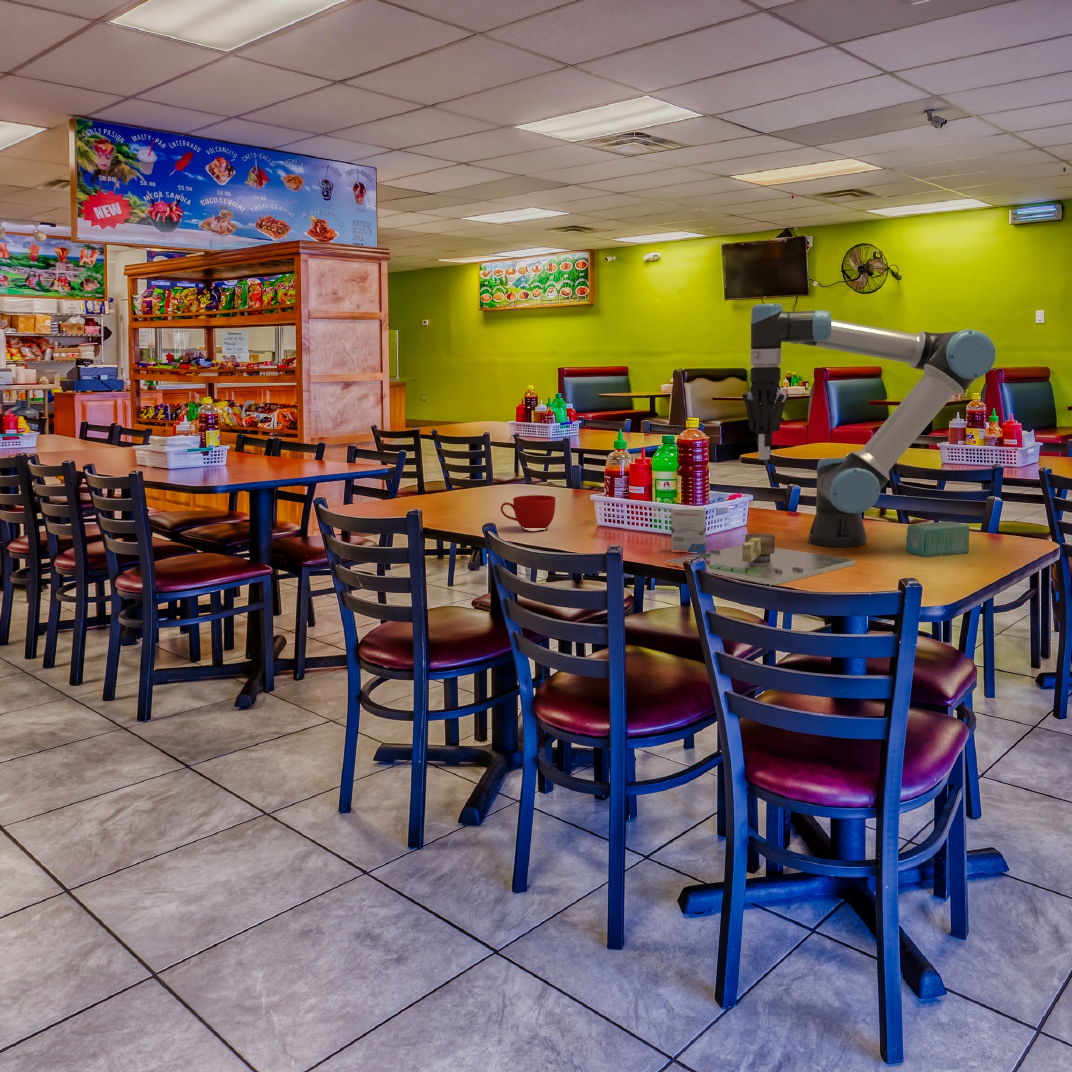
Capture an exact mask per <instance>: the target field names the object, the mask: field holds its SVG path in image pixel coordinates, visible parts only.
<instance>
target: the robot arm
mask: <svg viewBox="0 0 1072 1072" xmlns="http://www.w3.org/2000/svg"><path fill="white" fill-rule="evenodd" d="M750 320H751V321H750V322H751V323H750V365H751V366H752V367H751V368H750V371H749V373H750V375H749V376H750V379H749V380H750V383H751V386H750V387H749V388H750V389H749V391H748V392H747V393H743V394H742V400H743V401H744V403H745V408H746V413H747V419H748V426H749V430H750V431H751V432H754V433H755V434H756V446H757V447H758V451H757V452H758V457H757V459H758V460H760V461H761V460H762V461H763V460H764V461H765V460H771V459H770V457H771V456H770V452H771V447H772V445H773V434H774V433H776V432H779V430H780V427H781V423H782V419H783V413H784V409H785V404H786V402H787V401H788V398H790V397H789V394H788V393H784V392H783V391H782V390H781V387H780V381H781V380H782V379H781V374H782V373H781V371H782V369H781V367H780V365H781V364H782V343H790V344H793V345H797V344H800V345H805V346H810V347H817V348H824V349H829V350H835V351H840V352H845V353H851V354H854V355H855V354H857V355H860V356H861V355H862V356H868V357H873V358H877V359H878V358H879V359H885V360H890V361H895V362H899V363H900V362H901V363H904V364H905V363H906V364H909V367H910V368H912V369H917V370H921V371H924V374H923V375H922V377H921V378H920V380H919V381H918V382H917V383H916V384H915V385H914V387H913V388H911V390H910V392H908V393H907V394H906V396H905V397H904V399H902V401H901V402H900V403H899V405H897V407H896V408H895V409H894V410H893V412H892V413H891V414H890V415H889V416H888V418H887V419H886V420H885V421H884V422H883V424H882V425H881V426H880V427H879V428H878V430H877V431H876V432H875V433H874V434H873V435H872V436H871V438H870V439H869V440H868V441H867V443H865V445H864V446H863V447H862V449H860V450H854V451H851V453H850V454H849V455H848V456H847V457H836V458H832V457H831V458H821V459H819V460H818V462H817V468H816V502H815V503H816V504H815V505H816V506H815V507H816V508H815V516H814V518H813V521H812V524H811V527H810V529H809V532H808V543H811V544H814V545H818V546H826V547H840V548H841V547H844V548H845V547H859V546H863V545H866V544H867V536H868V535H867V532H866V528H865V525H864V521H863V518H862V515H861V513H864V512H866V511H868V510H870V509H872V508H873V507H874V506H875V505H876V503H877V502H878V500H879V497H880V495H881V490H882V488H884V486H885V485H886V484H887V483H888V482H889V481H890V470H891V468H892V467H894V465H895V464H896V463H897V462H898V461H899V459H900V458H901V457H902V456H903V454H904V453H905V452H906V451H908V449H909V448H910V447H911V446H912V444H913V443H914V442H915V441H916V439H917V438H918V437H919V436H920V435H921V434H922V432H923V431H924V430H925V429H926V427H927V426H929V424H930V423H931V422H932V421H933V420H934V419H935V417H936V416H937V415H938V414H939V413H940V411H942V409H943V408H944V407H945V405H946V404H947V403H948V402H949V401H950V399H951V398H952V397H953V396H955V395H961V394H964V393H965V392H966V390H968V388H969V387H970V386H971V384H972V383H973V382H974V381H975V380H976V379H979V378H981V377H982V376H985V374H987V373H989V371H990V370H991V369H992V368H993V366H994V364H995V362H996V356H997V355H996V354H997V352H996V346H995V344H994V342H993V341H992V339H991V338H990V337H989V336H988V335H987V334H986V333H984V332H983V331H979V330H975V329H963V330H959V331H950V332H927V331H922V330H921V331H920V332H918V333H916V334H915V333H911V332H905V331H900V330H899V331H898V330H891V329H887V328H881V327H878V326H877V327H876V326H869V325H865V324H858V323H852V322H848V321H843V320H837V319H832V315H831V313H830V312H829V310H818V309H816V310H801V311H798V310H797V311H784V310H783V306H782V304H781V303H759V304H755V305H753V306H752V308H751V319H750Z"/></svg>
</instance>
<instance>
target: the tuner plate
mask: <svg viewBox="0 0 1072 1072" xmlns="http://www.w3.org/2000/svg"><path fill="white" fill-rule="evenodd" d="M742 545H743V544H741V545H736V546H732V547H730V546H729V547H726V548H721V549H709V551H705V552H704V553H699V554H698V553H695V554H692V555H687V556H682V557H675V558H672V559H667V560H666V563H667V562H671V563H676V564H680V565H683V561H684V560H686V559H687V558H703V559H704V560H705V562H706V568H707V570H709V571H710V572H712V573H716V574H718V575H717V576H720V575H722V576H721V577H725V578H730V577H731V578H732V579H737V580H743V581H747V582H751V583H752V582H753V583H756V584H763V585H767V584H769V585H768V586H772V585H774V586H777V585H781V584H785V583H789V582H792V581H797V580H800V579H804V578H808V577H812V575H813V576H816V575H817V576H818V575H820V574H824V573H828V572H832V571H835V570H840V569H842V568H848V567H851V566H855V564H856V563H855V561H856V560H855V559H851V558H845V557H839V556H832V555H825V554H819V553H818V554H817V553H814V552H807V551H801V550H800V551H799V550H793V549H787V548H780V547H775V552H774V553H772V554H764V555H759V556H758V557H757V558H756V559H754V560H753V561H752V562H742ZM819 573H820V574H819Z"/></svg>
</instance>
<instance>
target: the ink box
mask: <svg viewBox="0 0 1072 1072" xmlns="http://www.w3.org/2000/svg"><path fill="white" fill-rule="evenodd" d="M706 510H707V508H706V507H703V506H702V507H699V506H698V507H695V506H693V507H692V506H691V507H690V506H675V507H673V508H672V509H670V511H671V512H670V515H671V516H670V517H671V519H670V521H671V522H670V524H671V526H670V528H671V529H670V530H671V532H670V533H671V537H670V538H671V541H670V542H671V544H670V545H671V550H680V551H688V552H697V553H696V554H698V553H705V552H706V551H705V550H707V537H706V536H707V527H706V526H707V522H706V521H707V519H706V517H707V514H706V512H707V511H706Z"/></svg>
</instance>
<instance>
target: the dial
mask: <svg viewBox="0 0 1072 1072" xmlns="http://www.w3.org/2000/svg"><path fill="white" fill-rule="evenodd" d="M741 545H742V562H752V561H753V560H754V559H756V558H757V557H758V556H759V555H764V554H772V553H774V552H775V548H776V546H775V545H776V535H774V534H772V533H763V532H762V533H761V532H760V533H759V532H758V533H754V532H753V533H747V534H745V542H744V543H743V544H741Z"/></svg>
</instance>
